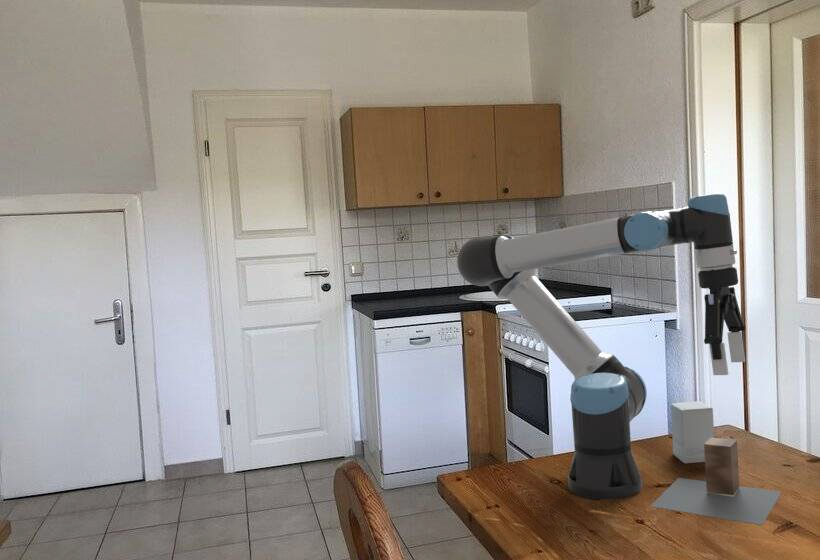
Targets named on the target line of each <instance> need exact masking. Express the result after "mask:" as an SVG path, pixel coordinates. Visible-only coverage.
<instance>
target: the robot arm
mask: <svg viewBox="0 0 820 560" xmlns="http://www.w3.org/2000/svg"><path fill="white" fill-rule="evenodd" d="M728 205H729V204H728V199H727V196H726V195H725V194H724V193H722V192H721V193H720V192H717V193H708V194H703V195H697V196H693V197H689V199H688V204H687V206H685V207H683V208H677V209H676V208H675V209H668V210H661V211H650V210H649V211H648V210H647V211H646V210H645V211H640V212H636V213H634V214H629V215H625V216H621V217H614V218H609V219H603V220H600V221H594V222H590V223H589V222H588V223H583V224H578V225H574V226H573V225H572V226H568V227H562V228H559V229H554V230H548V231H543V232H538V233H537V232H536V233H533V234H528V235H521V236H515V237H513V236H511V235H507V234H497V233H496V234H492V235H486V236H476V237H473V238H471V239H469V240H467V241H466V242H465V243H464V244H463V245H462V246H461V247H460V248H459V251H458V254H457V257H456V259H457V260H456V264H457V269H458V271H459V274H460V275H461V277H462V278H463V279H464V280H465V281H466V282H468V283H469V284H471V285H473V286H476V287H477V286H478V287H489V289H490V290H491V291H492V292H493V294H494V295H495V296H496V297H497V298H498V299H502V300H507V301H509V302H510V303H511V305H512V306H513V307H514V308H515V309H516V310H517V312H518V313H519V314H520V316H522V317H523V319H524V321H526V322H527V323H528V324H529V325H530V327H532V329H533V330H534V331H535V332H536V334H537V335H538V336H539V337H540V338H541V339H542V341H543V342H544V343H545V344H546V345H547V347H548V348H549V349H550V350H551V351H552V352H553V353H554V355H555V356H556V357H557V358H558V359H559V360H560V361H561V362H562V364H563V365H564V366H565V367H566V369H568V371H569V372H570V373H571V374H572V375H573V378H574V380H573V382H572V383H571V387H570V396H569V397H570V403H571V405H570V406H571V419H572V431H573V433H572V434H573V443H574V444H573V445H574V446H573V447H574V454H573V457H572V461H571V465H570V469H569V472H568V476H567V481H568V489H569V491H570V492H571V493H572V494H575V495H577V496H579V497H582V498H586V499H592V500H599V501H600V500H617V499H618V500H619V499H624V498H629V497H633V496H635V495H637V494H639V493H640V492H641V491H642V489H643V480H642V475H641V473H640V470H639V467H638V465H637V463H636V459H635V457H634V455H633V452H632V441H631V440H632V439H631V421H633V419H634V418H636V416H638V415H639V414H640V413H641V412H642V410H643V409H644V407H645V403H646V401H647V400H646V399H647V396H648V394H647V392H648V391H647V386H646V383H645V381H644V379H643V377H642V376H641V375H640V373H638V372H637V371H636V370H634V369H633V368H631V367H629V366H628V367H627V366H624V365H623V363H622V362H621V361H620V360H619V359H618V358H617V357H616V355H614V353H613V354H612V353H605V352H604V351H602V350H601V348H600V347H599V346H598V345H597V344H596V343H595V342H594V340H593V339H591V338H590V336H589V335H588V334H587V333H586V331H585V330H584V329H583V328H582V327H581V325H579V324H578V323H577V322H576V320H574V318H573V317H572V316H571V315H570V313H568V312H567V310H566V309H565V308H564V307H563V306H562V305H561V303H560V302H559V301H558V300H557V299H556V297H555V296H553V294H552V293H550V291H549V290H548V289H547V288H546V287H545V286H544V284H543V283H542V282H541V281H540V280H539V279H538V278H537V276H536V269H537V270H538V269H543V268H548V267H555V266H560V265H565V264H572V263H577V262H584V261H589V260H595V259H602V258H607V257H613V256H618V255H624V254H631V253H637V252H647V251H652V250H656V249H658V248H662V247H668V246H675V245H681V244H690V243H693V245H694V255H695V256H694V257H695V263H696V268H697V269H699V271H698V272H697V277H698V283H699V284H698V285H699V288H701V289H704V290H705V289H707V290H709V293H707V294H704V297H703V299H704V304H705V307H704V308H705V309H704V314H705V315H704V340H703V342H704V344H705V345H709V353H710V358H711V366H712V367H711V368H712V374H713V376H728V375H729V369H728V361H727V353H726V347H725V346H726V344H725V341H724V342H723V336H724V326H725V325H726V327H727V329H728V332H727V341H728V347H729V357H730V362H731V363H745V362H746V357H745V356H746V355H745V350H744V340H743V333H742V332H746V326H745V325H744V320H743V317H742V314H741V311H740V307H739V304H738V300H737V297H736V289H735V287H734V286H736V285H738V283H739V278H738V269H737V267H736V266H734V265H735V264H736V256H735V255H737V253H738V250H737V249H734V241H733V239H734V238H733V231H732V222H731V221H732V220H731V213H730V209H729V206H728ZM724 323H725V325H724Z"/></svg>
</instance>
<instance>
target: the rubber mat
mask: <svg viewBox="0 0 820 560" xmlns="http://www.w3.org/2000/svg"><path fill="white" fill-rule="evenodd" d="M782 493H783V492H782V491H778V490H770V489H763V488H757V487H749V486H741V485H739V490H738V491H737V493H736V494H735V495H734V497H731V496H724V495H717V494H710V493H707V489H706V480H698V479H692V478H691V479H690V478H683V477H677V479H676V480H675V481H674V482H673V483H672V484H671V485H670V486H669V487H668V488H666V490H664V491H663V492H662V494H661V495H659V497H658V498H657V499H656V500H655V501H654V502H653V503H652V504H650V506H649V507H651V508H655V509H656V508H657V509H663V510H668V511H673V512H681V513H686V514H687V513H688V514H693V515H699V516H703V517H704V516H705V517H711V518H716V519H723V520H729V521H734V522H742V523H746V524H753V525H759V526H763V524H764V523H765V521H766V520H767V518H768V516H769V515H770V513H771V511H773V508H774V506H775V505H776V503H777V501H778V500H779V498H780V496H781V494H782Z"/></svg>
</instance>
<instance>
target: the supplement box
mask: <svg viewBox="0 0 820 560" xmlns="http://www.w3.org/2000/svg"><path fill="white" fill-rule="evenodd" d="M670 417H671V418H670V419H671V420H670V421H671V433H672V434H671V435H672V436H671V437H672V453H673V455H674V457H676V458H677V459H679V460H680V461H681V462H682V463H684V464H690V463H691V464H693V463H705V453H704V444H705V443H706V442H707V441H708V440H709V439H710V438H711V437H712V438H715V426H714V408H713V407H712V406H710V405H708V404H706V403H705V402H702V401H701V400H700V401H699V400H698V401H687V402H686V401H685V402H684V401H683V402H674V403H670Z"/></svg>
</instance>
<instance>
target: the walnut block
mask: <svg viewBox="0 0 820 560" xmlns="http://www.w3.org/2000/svg"><path fill="white" fill-rule="evenodd" d="M704 453H705V462H704V465H705V466H704V468H705V470H704V471H705V481H706V489H707V493H710V494H717V495H724V496H731V497H734V495H735V494H736V493H737V491H738V490H739V486H740V473H739V472H740V471H739V459H738V458H739V457H738V456H739V455H738V453H739V452H738V440H737V439H731V438H723V437H722V438H720V437H714V438H712V437H711V438H710V439H709V440H708V441H707V442H706V443H705V444H704Z"/></svg>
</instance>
